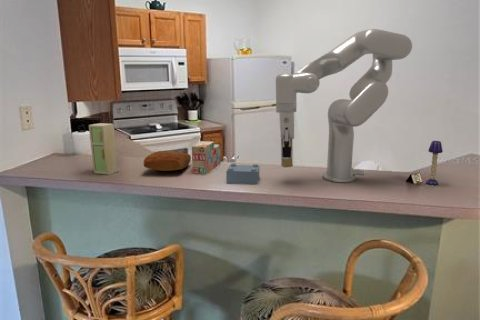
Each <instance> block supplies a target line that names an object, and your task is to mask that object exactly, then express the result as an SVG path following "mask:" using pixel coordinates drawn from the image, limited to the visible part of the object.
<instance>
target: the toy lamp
mask: <svg viewBox="0 0 480 320" xmlns="http://www.w3.org/2000/svg"><path fill="white" fill-rule="evenodd" d="M442 145H443V144H442V141H439V140H432V141H431V143H430V144H429V147H428V152H429V153H432V158H431V159H432V160H431V168H430V177H429V179H427V180H426V181H425V184H426V185H429V186H432V185H434V186H436V185H437V186H439V182H438V180H437V179H436V174H437V173H436V172H437V163H438V158H439V157H438V155H439V154H442V153H443V152H444V151H443V146H442ZM434 186H433V187H434Z"/></svg>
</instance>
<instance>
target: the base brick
mask: <svg viewBox="0 0 480 320" xmlns="http://www.w3.org/2000/svg"><path fill="white" fill-rule="evenodd" d="M258 164H259V163H252V164H236V163H235V162H231V163H230V164H229V166H228V167H227V169H226V175H225V176H226V184H239V185H258V183H259V181H260V165H258Z"/></svg>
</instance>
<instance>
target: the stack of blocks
mask: <svg viewBox="0 0 480 320" xmlns="http://www.w3.org/2000/svg"><path fill="white" fill-rule="evenodd" d="M191 160H192V164H191V165H192V174H193V175H208V174H209V173H210V172H211V171H213V170H214V169H215V168H216V167H217V166H218V165H220V164H221V145H220V144H215V141H206V140H205V141H203V140H201V141H199V142H197V143H195V144H193V145H191Z"/></svg>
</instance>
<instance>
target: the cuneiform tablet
mask: <svg viewBox="0 0 480 320" xmlns="http://www.w3.org/2000/svg"><path fill="white" fill-rule="evenodd" d="M191 160H192V155H191V154H188V153H185V152H178V151H166V150H163V151H161V150H159V151H155V152H152V153H150V154H148V155H147V156H146V157H145V158H144V160H143V167H144V168H146V169H150V170H154V171H161V172H175V171H179V170H184V169H185V168H187V167H188V166H189V165H190V162H191Z"/></svg>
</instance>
